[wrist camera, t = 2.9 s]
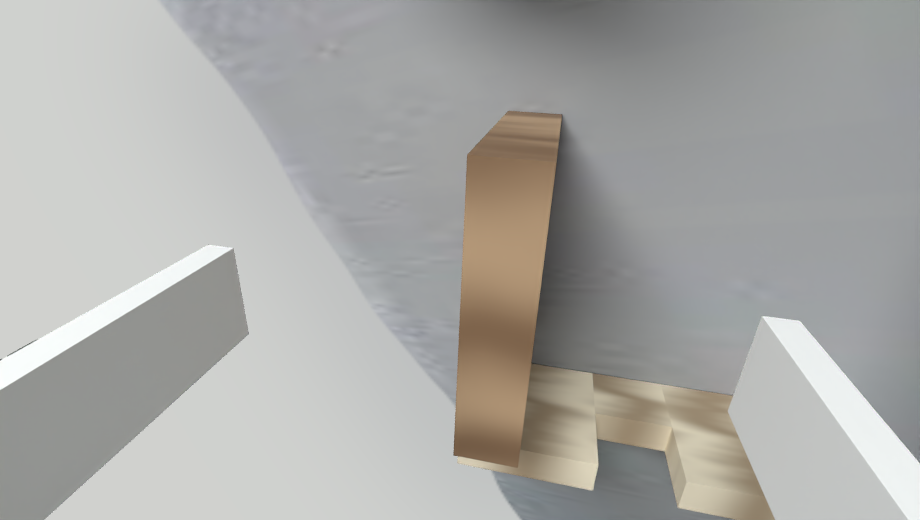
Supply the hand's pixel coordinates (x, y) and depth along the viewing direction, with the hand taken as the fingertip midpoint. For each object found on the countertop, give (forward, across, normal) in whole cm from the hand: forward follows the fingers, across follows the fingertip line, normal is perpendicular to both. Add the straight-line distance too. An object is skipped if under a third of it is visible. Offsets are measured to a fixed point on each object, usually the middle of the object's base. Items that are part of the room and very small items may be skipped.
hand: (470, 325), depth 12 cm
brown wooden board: (+18, 0, -4) cm, 18 cm away
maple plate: (+18, +8, -15) cm, 25 cm away
